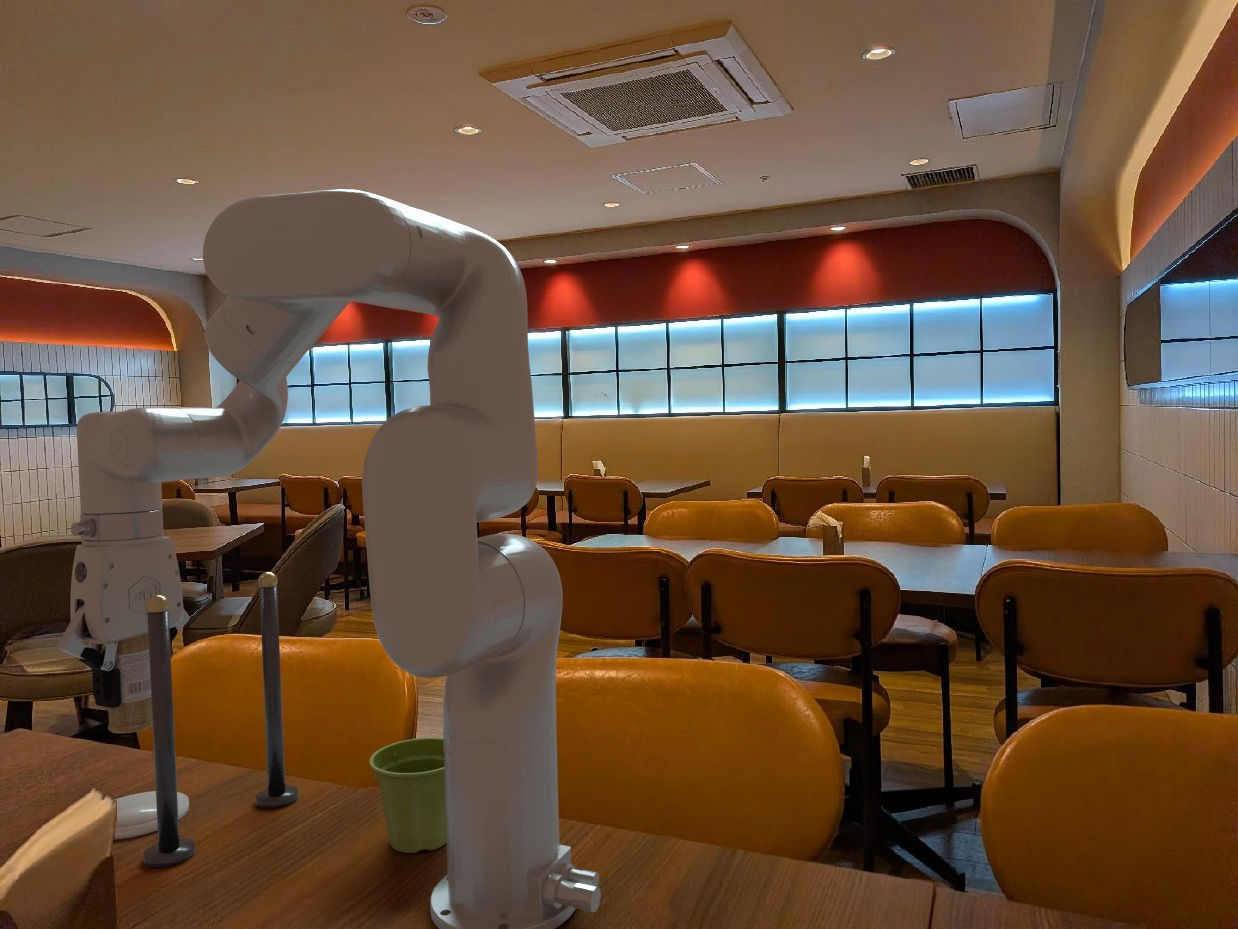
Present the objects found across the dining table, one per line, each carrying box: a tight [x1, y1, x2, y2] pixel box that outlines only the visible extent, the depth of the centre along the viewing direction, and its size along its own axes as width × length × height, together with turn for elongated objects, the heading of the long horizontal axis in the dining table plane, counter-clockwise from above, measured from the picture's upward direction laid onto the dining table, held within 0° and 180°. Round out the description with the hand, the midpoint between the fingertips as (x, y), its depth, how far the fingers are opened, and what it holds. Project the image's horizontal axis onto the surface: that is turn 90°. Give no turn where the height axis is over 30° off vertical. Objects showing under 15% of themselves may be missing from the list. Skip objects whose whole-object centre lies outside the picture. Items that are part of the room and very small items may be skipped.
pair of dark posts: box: [142, 571, 299, 869], centre depth 89 cm, size 4×18×26 cm, turn 156°
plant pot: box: [369, 737, 447, 854], centre depth 86 cm, size 9×9×9 cm
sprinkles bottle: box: [107, 634, 153, 734], centre depth 92 cm, size 5×5×13 cm
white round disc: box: [114, 790, 190, 840], centre depth 92 cm, size 10×10×1 cm
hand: (130, 696), depth 92 cm, fingers closed on sprinkles bottle, 4 cm apart
